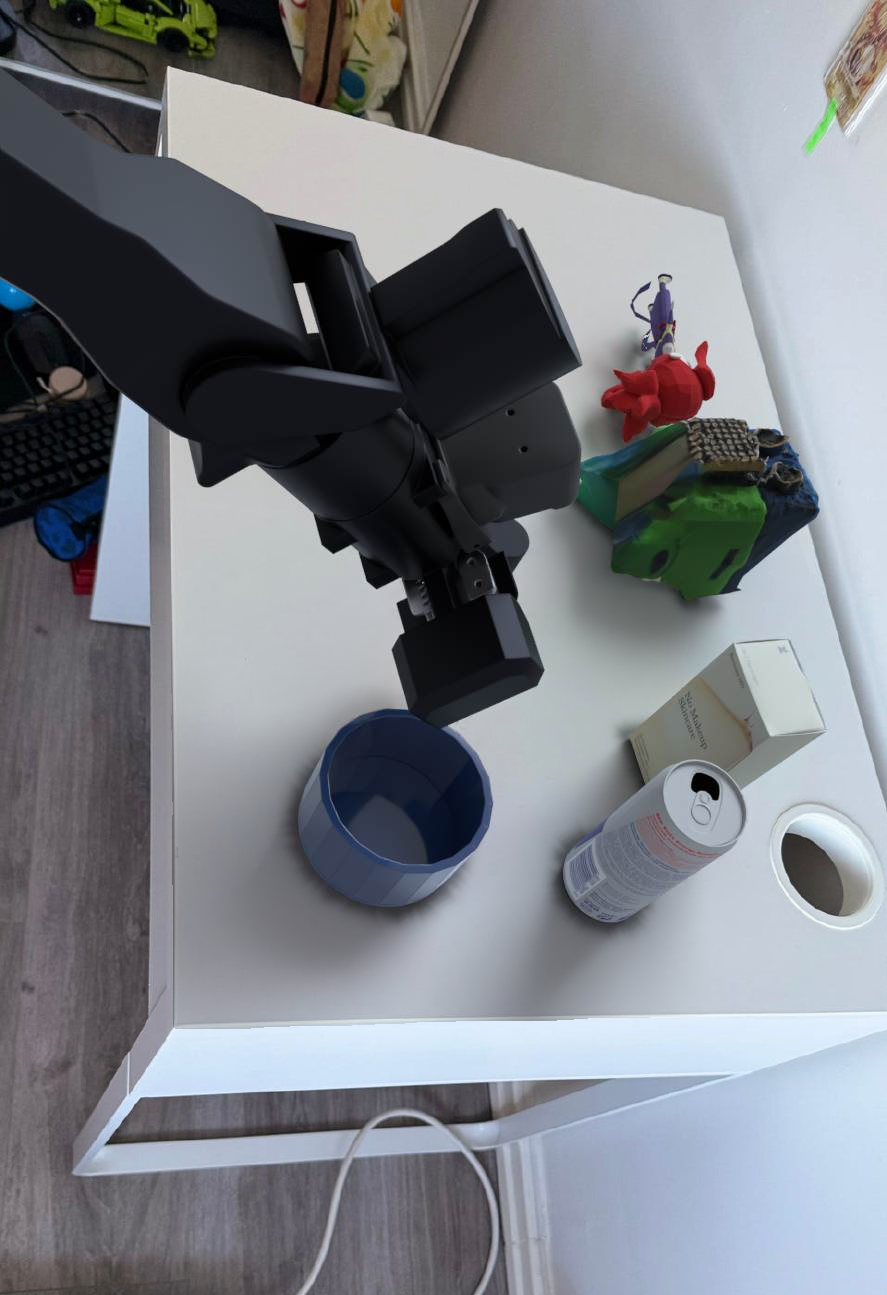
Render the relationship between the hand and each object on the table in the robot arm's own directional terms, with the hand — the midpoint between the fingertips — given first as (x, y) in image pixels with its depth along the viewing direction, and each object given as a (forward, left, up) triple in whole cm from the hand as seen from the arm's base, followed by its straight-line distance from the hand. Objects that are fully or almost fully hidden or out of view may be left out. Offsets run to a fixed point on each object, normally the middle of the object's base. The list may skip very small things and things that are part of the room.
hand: (491, 595), depth 60 cm
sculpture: (+14, +18, -10) cm, 25 cm away
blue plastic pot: (-1, -11, -10) cm, 15 cm away
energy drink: (+13, -10, -10) cm, 19 cm away
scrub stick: (-1, -1, -7) cm, 7 cm away
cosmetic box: (+17, -1, -10) cm, 20 cm away
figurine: (+11, +33, -10) cm, 36 cm away
